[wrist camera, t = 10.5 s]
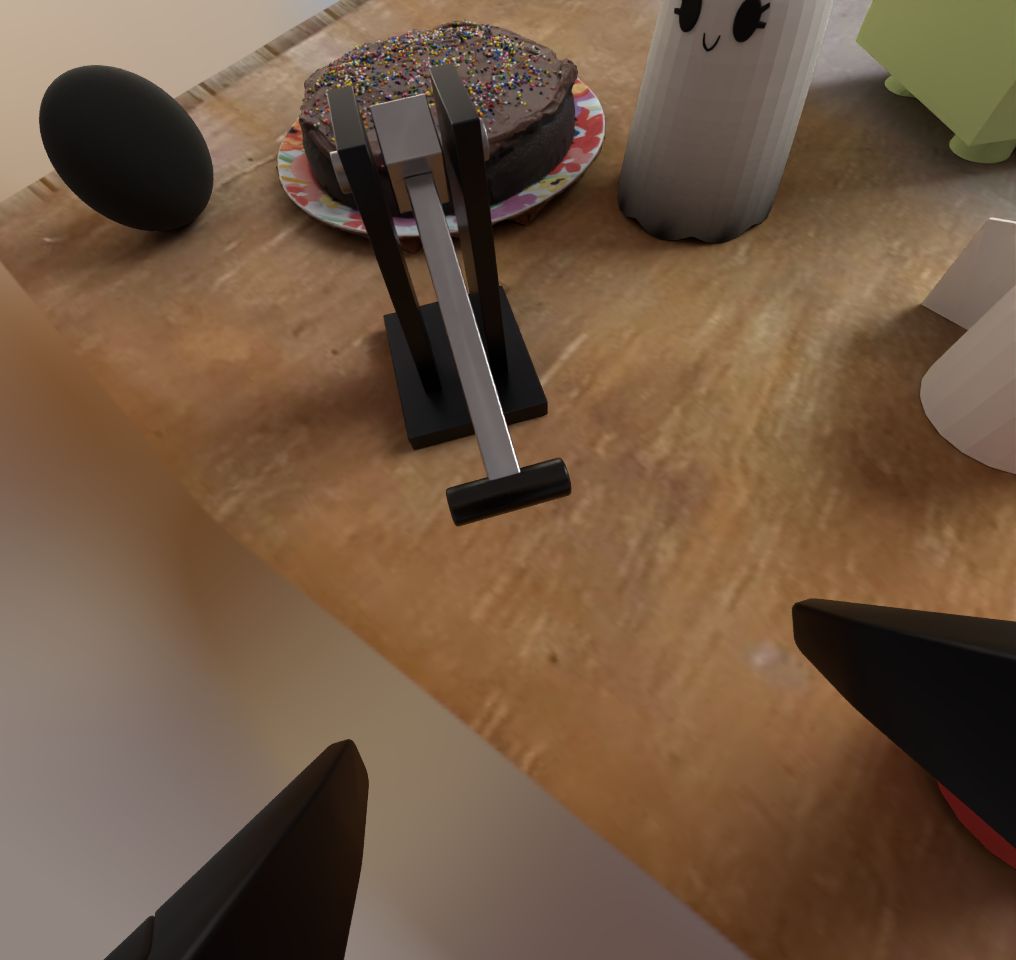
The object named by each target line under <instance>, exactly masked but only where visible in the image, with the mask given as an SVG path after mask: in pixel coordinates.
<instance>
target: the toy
mask: <svg viewBox="0 0 1016 960" xmlns="http://www.w3.org/2000/svg"><path fill="white" fill-rule="evenodd" d="M833 2H834V0H662V2H661V6H660V10H659V14H658V18H657V22H656V25H655V29H654V33H653V37H652V41H651V45H650V50H649V54H648V58H647V62H646V66H645V70H644V75H643V79H642V83H641V87H640V92H639V96H638V100H637V104H636V109H635V113H634V117H633V121H632V126H631V130H630V134H629V139H628V143H627V147H626V152H625V156H624V161H623V165H622V170H621V174H620V179H619V183H618V203H619V207H620V210H621V211H622V212H623V213H624V214H625V215H626V216H628V217H634V218H636V219H637V220H638V221H639V223H640V224H641V225H642V226H643V228H644V229H645V230H646V231H647V232H649V233H650V234H652V235H654V236H655V237H657V238H658V239H666V240H678V239H683V238H687V237H692V236H693V237H695V238H698V239H700V240H703V241H705V242H710V243H723V242H725V241H728V240H730V239H733V238H735V237H738V236H739V235H740V234H741V233H743V232H744V231H745V230H747V229H748V228H749V227H750V226H752V225H753V224H761V223H762V222H763V221H764V220H765V219H766V218H767V217H768V214H769V212H770V210H771V208H772V205H773V202H774V199H775V196H776V193H777V190H778V187H779V184H780V181H781V178H782V175H783V172H784V169H785V166H786V162H787V159H788V156H789V153H790V150H791V146H792V143H793V140H794V137H795V133H796V130H797V127H798V123H799V120H800V117H801V113H802V110H803V107H804V103H805V100H806V97H807V93H808V90H809V87H810V83H811V80H812V77H813V73H814V70H815V66H816V63H817V60H818V56H819V53H820V49H821V46H822V42H823V39H824V35H825V32H826V28H827V24H828V21H829V17H830V13H831V10H832V6H833Z"/></svg>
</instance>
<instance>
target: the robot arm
mask: <svg viewBox="0 0 1016 960" xmlns="http://www.w3.org/2000/svg"><path fill="white" fill-rule="evenodd" d="M792 619H793V632H794V640H795V643H796V645H797V647H798V648H799V650H800V651H801V652H802V654H803V655H804V656H805V657H806V658H807V659H808V660H809V661H810V662H811V663H812V664H813V665H814V666H815V667H816V668H817V669H818V670H819V672H820V673H821V674H822V675H823V676H824V677H825V678H826V679H827V680H828V681H829V682H830V683H831V684H832V685H833V686H834V687H835V688H836V689H837V691H838V692H839V693H840V694H841V695H842V696H843V697H844V698H845V699H846V700H847V701H848V702H849V703H850V704H851V705H852V706H853V707H854V708H855V709H856V710H857V711H859V712H860V713H861V714H862V715H863V716H864V717H865V718H866V719H867V720H869V721H870V722H871V723H872V724H873V725H874V726H875V727H877V728H878V729H879V730H880V731H881V732H882V733H883V734H885V735H886V736H887V737H888V738H889V739H890V740H891V741H893V742H894V743H895V744H896V745H897V746H898V747H899V748H901V749H902V750H903V751H904V752H905V753H906V754H907V755H909V756H910V757H911V758H912V759H913V760H914V761H916V762H917V763H918V764H919V765H920V766H921V767H922V768H924V769H925V770H926V771H927V772H928V773H929V774H930V775H932V776H933V777H934V778H935V779H936V780H937V781H938V782H940V783H941V784H942V785H943V786H944V787H945V788H946V789H948V790H949V791H950V792H951V793H952V794H953V795H954V796H956V797H957V798H958V799H959V800H960V801H961V802H962V803H964V804H965V805H966V806H967V807H968V808H969V809H970V810H972V811H973V812H974V813H975V814H976V815H977V816H978V817H980V818H981V819H982V820H983V821H984V822H985V823H986V824H988V825H989V826H990V827H991V828H992V829H993V830H995V831H996V832H997V833H998V834H999V835H1000V836H1001V837H1003V838H1004V839H1005V840H1006V841H1007V842H1008V843H1009V844H1011V845H1012V846H1013V847H1014V848H1015V849H1016V622H1014V621H1006V620H997V619H988V618H980V617H971V616H963V615H954V614H945V613H937V612H928V611H919V610H911V609H902V608H893V607H885V606H876V605H868V604H859V603H850V602H842V601H833V600H824V599H816V598H812V599H807V600H804V601H801V602H797V603H795V604H794V605H793V607H792ZM368 788H369V780H368V774H367V770H366V768H365V765H364V763H363V761H362V759H361V756H360V754H359V752H358V749H357V747H356V745H355V743H354V742H353V741H352V740H350V739H347V740H344V741H340V742H337V743H334V744H332V745H330V746H329V747H327V749H325V750H324V751H323V752H322V753H321V754H320V755H319V756H318V757H317V758H316V759H315V760H314V761H313V762H312V763H311V764H310V765H309V766H308V767H307V768H305V769H304V770H303V771H302V772H301V773H300V774H299V775H298V776H297V777H296V778H295V779H294V780H293V781H292V782H291V783H290V784H289V785H288V786H287V787H286V788H285V789H283V790H282V792H281V793H279V794H278V795H277V796H276V797H275V798H274V799H273V800H272V801H271V802H270V803H269V804H268V805H267V806H266V807H265V808H264V809H263V810H261V811H260V813H258V814H257V815H256V816H255V817H254V818H253V819H252V820H251V821H250V822H249V823H248V824H247V825H246V826H245V827H244V828H243V829H242V830H241V831H240V832H238V834H236V835H235V836H234V837H233V838H232V839H231V840H230V841H229V842H228V843H227V844H226V845H225V846H224V847H223V848H222V849H221V850H220V851H219V852H218V853H217V854H215V855H214V856H213V857H212V858H211V859H210V860H209V861H208V862H207V863H206V864H205V865H204V866H203V867H202V868H201V869H200V870H199V871H198V872H197V873H196V874H195V875H193V876H192V877H191V878H190V879H189V880H188V882H186V883H185V884H184V885H183V886H182V887H181V888H180V889H179V890H178V891H177V892H176V893H175V894H174V895H173V896H172V897H170V898H169V899H168V900H167V901H166V902H165V903H164V904H163V905H162V906H161V907H160V908H159V909H158V910H157V911H156V912H155V917H154V916H150V917H148V918H147V919H146V920H145V921H144V922H143V923H142V924H141V925H140V926H139V927H138V928H137V929H136V930H135V931H134V932H133V933H132V934H130V935H129V936H128V937H127V938H126V939H125V940H124V941H123V942H122V943H121V944H120V945H119V946H118V947H117V948H116V949H115V950H114V951H112V952H111V953H110V954H109V955H108V956H107V957H106V958H105V959H104V960H344V956H345V951H346V946H347V940H348V935H349V930H350V925H351V920H352V915H353V909H354V904H355V899H356V894H357V888H358V883H359V878H360V872H361V865H362V857H363V847H364V836H365V824H366V813H367V800H368Z"/></svg>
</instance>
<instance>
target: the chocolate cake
mask: <svg viewBox="0 0 1016 960" xmlns="http://www.w3.org/2000/svg"><path fill="white" fill-rule="evenodd" d="M449 63H454V65H455V67H456V69H457V72H458V74H459V76H460V78H461V80H462V82H463V84H464V86H465V88H466V90H467V93H468V95H469V97H470V99H471V101H472V103H473V105H474V107H475V109H476V111H477V114H478V116H479V118H482V120H483V122H484V124H485V128H486V132H487V137H488V143H489V159H488V160H486V161H485V167H486V176H487V184H488V193H489V202H490V211H491V220H492V225H494V224H496V223H498V222H500V221H502V220H505V219H507V220H510V221H514V222H517V223H521V224H524V225H527V226H528V225H529V224H530V223H531V221H532V220H533V219H534V218H535V217H536V215H537V214H538V213H539V212H540V211H541V209H542V208H543V207H544V206H545V205H546V203H547V202H549V201H550V200H552V199H553V198H555V197H556V196H558V195H559V194H561V193H562V192H563V191H564V190H565V189H567V188H568V187H570V186H571V185H573V184H574V183H575V182H576V181H577V180H578V179H579V178H581V177H582V176H583V173H584V172H585V171H586V170H587V169H588V167H589V166H590V165H591V164H592V162H594V161H595V159H596V158H597V156H598V155H599V153H601V149H602V143H603V140H604V139H605V136H604V133H605V116H604V113H603V109H602V106H601V104H600V101H599V100H598V98H597V97H596V95H595V94H594V93H593V91H592V90H591V89H590V88H589V87H587V86H586V85H585V84H584V83H583V82H582V81H581V80H579V79H578V78H577V75H578V70H577V66H576V65H574V63H573V62H572V61H571V60H568V59H564V60H561V61H559V60H557V58H556V53H554V52H553V51H552V50H551V49H549V48H548V47H545V46H542V45H540V44H538V43H536V42H534V41H531V40H529V39H526V38H524V37H522V36H520V35H518V34H516V33H514V32H512V31H510V30H507V29H503V28H500V27H495V26H489V24H488V25H483V24H481V25H479V24H476V23H472V22H470V21H467V20H464V21H453V22H448V23H445V24H442V25H439V26H438V27H435V28H432V29H426V30H422V31H419V30H416V29H413V30H412V31H407V34H404V35H402V36H400V37H398V36H394V37H390V38H388V39H387V40H386V39H385V41H383V40H378V41H375V42H369V43H364V44H363V45H361V46H358V45H357V46H356V47H355V49H353V50H352V51H351V52H349V53H348V54H346V53H345V55H344V56H342V57H340V58H339V59H338V60H336V61H334V63H333V64H332V63H330V64H329V65H328V66H325V67H323V68H321V69H317V70H316V72H315V73H313V74H312V75H311V76H310V77H309V78H308V79H307V80H305V83H304V85H305V86H304V87H305V98H304V99H303V100H302V101H303V105H301V108H300V109H301V111H302V113H301V114H300V115H299V118H298V119H297V121H296V122H295V123H294V124H293V125H292V127H291V128H290V129H289V130H288V132H287V134H286V135H285V137H284V139H283V140H282V143H281V144H280V149H279V154H278V158H277V163H278V164H277V167H276V168H277V170H278V175H279V178H280V183H281V186H282V187H283V188H284V190H285V193H286V194H287V195H288V196H289V197H290V198H291V200H292V201H293V203H295V204H296V205H298V206H299V207H300V208H301V209H302V210H303V211H304V212H305V213H307V214H308V215H310V217H311V218H313V219H315V220H317V221H319V222H321V223H324V224H327V225H328V226H330V227H333V228H337V229H340V230H342V231H347V232H350V233H353V234H356V235H360V236H363V237H366V238H369V237H368V234H367V232H366V229H365V226H364V223H363V221H362V218H361V215H360V213H359V210H358V207H357V204H356V202H355V199H354V196H353V193H352V192H351V193H347V194H344V193H343V192H342V190H341V188H340V185H339V183H338V180H337V177H336V174H335V171H334V168H333V165H332V161H331V157H330V153H331V152H334V151H337V147H336V142H335V136H334V131H333V125H332V120H331V114H330V109H329V103H328V98H327V91H328V90H333V89H337V88H341V87H346V86H350V85H351V86H352V87H353V90H354V94H355V97H356V100H357V104H358V107H359V110H360V113H361V117H362V120H363V123H364V126H365V130H366V133H367V136H368V140H369V143H370V146H371V149H372V153H373V156H374V159H375V163H376V166H377V169H378V172H379V176H380V179H381V182H382V185H383V189H384V192H385V195H386V199H387V202H388V205H389V208H390V212H391V215H392V218H393V221H394V225H395V228H396V231H397V235H398V238H399V241H400V244H401V248H402V250H405V251H408V252H411V253H414V254H415V253H416V251H417V250H418V249H419V248H420V247H421V246H422V243H421V240H420V236H419V232H418V229H417V225H416V222H415V218H414V215H413V211H410V212H405V213H399V212H398V209H397V205H396V202H395V198H394V195H393V192H392V188H391V185H390V182H389V178H388V175H387V171H386V168H385V165H384V161H383V157H382V154H381V150H380V146H379V143H378V139H377V135H376V132H375V128H374V124H373V121H372V117H371V113H370V110H369V109H370V106H372V105H376V104H381V103H385V102H390V101H394V100H398V99H403V98H407V97H412V96H416V95H420V94H425V95H426V97H427V100H428V104H429V107H430V110H431V113H432V117H433V120H434V123H435V126H436V130H437V133H438V136H439V139H440V143H441V146H442V149H443V145H442V139H441V134H440V128H439V123H438V117H437V112H436V106H435V101H434V95H433V90H432V84H431V79H430V73H429V68H431V67H436V66H440V65H445V64H449ZM443 154H444V150H443ZM444 160H445V155H444ZM445 167H446V173H447V180H448V187H449V193H450V202H447V203H443V204H442V208H443V211H444V214H445V218H446V221H447V224H448V228H449V231H450V234H451V237H456V238H459V232H458V227H457V221H456V216H455V210H454V205H453V199H452V194H451V188H450V183H449V177H448V172H447V166H446V161H445Z"/></svg>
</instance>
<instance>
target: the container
mask: <svg viewBox="0 0 1016 960" xmlns="http://www.w3.org/2000/svg"><path fill="white" fill-rule="evenodd" d="M856 42H857V43H858V44H859V45H860V46H861V47H862V48H863V49H865V50H866V51H867V52H868V53H869V54H870V55H871V56H872V57H873V58H874V59H875V60H876V61H877V62H879V63H880V64H881V65H882V66H883V67H884V68H885V69H886V70H887V71H888V72H889V73H890V74H891V76H890V77H889V78H888V79H886V81H885V86H886V87H887V89H888V90H890V91H891V92H893V93H895V94H898V95H901V96H905V97H916V98H917V99H918V100H919V101H921V102H922V103H923V104H924V105H925V106H926V107H927V108H928V109H929V110H930V111H931V112H932V113H933V114H935V115H936V116H937V117H938V118H939V119H940V120H941V121H942V122H943V123H944V124H945V125H946V126H947V127H948V128H950V129H951V130H952V131H953V132H954V133H955V134H956V135H955V136H954V137H953V138H952V140H951V141H950V143H949V145H950V148H951V150H952V151H953V152H954V153H955V154H956V155H958V156H959V157H961V158H964V159H966V160H969V161H972V162H977V163H998V162H1002V161H1004V160H1006V159H1007V158H1009V156H1010V155H1011V153H1012V151H1013V150H1014V148H1015V146H1016V0H873V2H872V4H871V6H870V8H869V11H868V13H867V15H866V18H865V20H864V22H863V25H862V27H861V29H860V31H859V34H858V36H857V38H856Z"/></svg>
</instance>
